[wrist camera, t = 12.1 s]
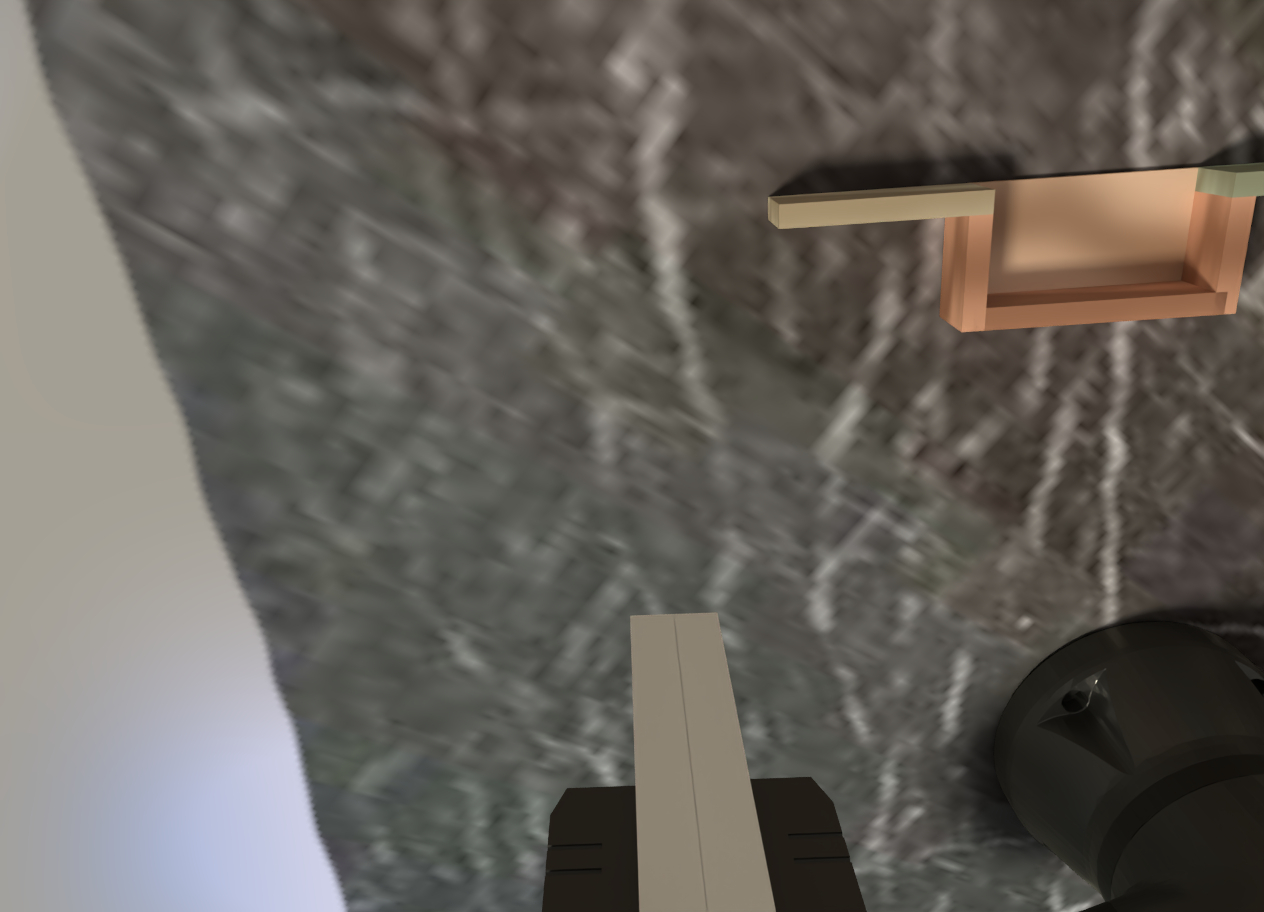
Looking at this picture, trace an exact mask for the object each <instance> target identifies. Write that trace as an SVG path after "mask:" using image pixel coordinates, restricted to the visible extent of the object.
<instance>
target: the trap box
mask: <svg viewBox="0 0 1264 912" xmlns="http://www.w3.org/2000/svg"><path fill="white" fill-rule="evenodd" d="M1256 196H1264V162H1263V163H1248V164H1234V165H1219V166H1205V167H1191V168H1176V169H1162V170H1147V171H1133V172H1118V173H1104V174H1090V175H1075V176H1061V177H1046V178H1032V179H1017V180H1003V181H989V182H974V183H960V184H945V185H931V186H916V187H902V188H888V189H873V190H859V191H844V192H830V193H815V194H801V195H787V196H772V197H768V220H769V221H770V222H772V223H773V224H774V225H775V226H776V227H777V228H779V229H787V228H801V227H816V226H830V225H845V224H859V223H873V222H888V221H902V220H917V219H931V218H945V231H944V248H943V265H942V283H941V300H940V317H941V318H942V319H944V320H945V321H947V322H948V323H949V324H951V325H952V326H954V327H955V328H957V329H958V330H959V331H961V332H971V331H986V330H1000V329H1015V328H1030V327H1045V326H1059V325H1074V324H1089V323H1103V322H1118V321H1133V320H1148V319H1162V318H1177V317H1192V316H1206V315H1221V314H1235V313H1236V307H1237V302H1238V296H1239V290H1240V285H1241V279H1242V274H1243V268H1244V262H1245V257H1246V251H1247V245H1248V240H1249V234H1250V228H1251V223H1252V217H1253V212H1254V206H1255V200H1256Z"/></svg>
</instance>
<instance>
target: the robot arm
mask: <svg viewBox="0 0 1264 912" xmlns="http://www.w3.org/2000/svg"><path fill="white" fill-rule="evenodd" d="M630 622H631V655H632V687H633V720H634V752H635V784H636V786H617V787H590V788H567V789H566V791H565V792H564V794H563V796H562V797H561V799H560V801H559V802H558V804H557V805H556V807H555V809H554V810H553V812H552V813H551V815H550V826H549V837H548V851H547V860H546V876H545V883H544V894H543V906H542V912H867V911H866V908H865V905H864V902H863V898H862V895H861V892H860V889H859V885H858V882H857V879H856V876H855V872H854V869H853V866H852V862H850V856H849V853H848V849H847V846H846V843H845V840H844V838H843V836H842V830H841V827H840V823H839V820H838V817H837V813H836V810H835V807H834V804H833V802H832V800H831V799H830V798H829V797H828V796H827V795H826V794H825V792H824V791H823V790H822V789H821V788H820V787H819V786H818V785H817V783H816V782H815V781H814V780H813V779H812V778H811V777H796V778H770V779H750V777H749V772H748V767H747V762H746V757H745V751H744V746H743V741H742V736H741V731H740V726H739V721H738V716H737V711H736V706H735V701H734V695H733V690H732V685H731V680H730V675H729V670H728V665H727V660H726V655H725V650H724V644H723V639H722V634H721V629H720V624H719V619H718V614H717V613H691V614H663V615H636V616H630ZM994 764H995V771H996V775H997V778H998V781H999V784H1000V786H1001V788H1002V790H1003V792H1004V794H1005V796H1006V798H1007V799H1008V801H1009V803H1010V805H1011V807H1012V808H1013V810H1014V812H1015V814H1016V815H1017V817H1018V819H1019V820H1020V822H1021V823H1022V824H1023V826H1024V827H1025V828H1026V829H1027V831H1028V832H1029V833H1030V834H1031V835H1032V836H1033V837H1034V838H1035V839H1036V840H1037V841H1038V842H1039V843H1041V844H1042V845H1043V846H1045V847H1046V848H1047V849H1049V850H1050V851H1052V852H1053V853H1054V854H1056V855H1057V856H1058V857H1059V858H1060V859H1061V860H1062V861H1064V862H1065V863H1066V864H1067V865H1068V866H1069V867H1070V868H1071V869H1072V870H1073V871H1075V872H1076V873H1077V874H1078V875H1079V876H1080V877H1081V878H1082V879H1084V880H1085V881H1086V882H1087V883H1088V884H1089V885H1091V886H1092V887H1093V888H1094V889H1095V890H1096V891H1097V892H1099V893H1100V894H1101V895H1102V897H1103V899H1104V900H1105V902H1104V903H1101V904H1099V905H1096V906H1093V907H1091V908H1088V909H1086V910H1083V911H1080V912H1264V673H1263V672H1262V671H1261V670H1260V669H1258V668H1257V667H1256V666H1255V665H1254V664H1253V663H1252V662H1251V661H1250V660H1249V659H1248V658H1246V657H1245V656H1244V655H1243V654H1242V653H1241V652H1240V651H1239V650H1238V649H1237V648H1235V647H1234V646H1233V645H1232V644H1230V643H1229V642H1227V641H1226V640H1224V639H1223V638H1221V637H1219V636H1217V635H1215V634H1213V633H1211V632H1209V631H1206V630H1204V629H1201V628H1198V627H1194V626H1190V625H1186V624H1180V623H1172V622H1141V623H1133V624H1126V625H1121V626H1117V627H1113V628H1109V629H1106V630H1103V631H1100V632H1097V633H1094V634H1092V635H1089V636H1087V637H1084V638H1082V639H1080V640H1078V641H1076V642H1074V643H1072V644H1070V645H1069V646H1067V647H1065V648H1063V649H1062V650H1060V651H1059V652H1057V653H1056V654H1054V655H1053V656H1051V657H1050V658H1049V659H1047V660H1046V661H1045V662H1044V663H1042V664H1041V665H1040V666H1039V667H1038V668H1037V669H1035V670H1034V671H1033V672H1032V673H1031V674H1030V675H1029V676H1028V677H1027V679H1026V680H1025V681H1024V682H1023V683H1022V684H1021V685H1020V687H1019V688H1018V689H1017V691H1016V692H1015V693H1014V695H1013V696H1012V698H1011V699H1010V701H1009V703H1008V704H1007V706H1006V708H1005V710H1004V712H1003V715H1002V717H1001V719H1000V722H999V725H998V728H997V732H996V736H995V743H994Z"/></svg>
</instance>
